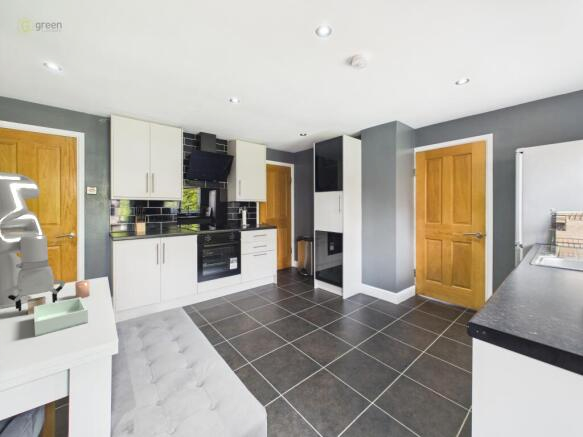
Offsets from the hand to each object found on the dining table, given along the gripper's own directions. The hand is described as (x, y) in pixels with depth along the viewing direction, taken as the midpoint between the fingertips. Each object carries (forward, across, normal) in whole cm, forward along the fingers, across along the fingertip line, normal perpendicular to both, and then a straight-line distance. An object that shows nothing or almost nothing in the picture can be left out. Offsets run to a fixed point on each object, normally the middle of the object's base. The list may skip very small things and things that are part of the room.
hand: (37, 306), depth 100 cm
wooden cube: (+2, 0, 0) cm, 2 cm away
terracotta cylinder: (+2, +15, +8) cm, 17 cm away
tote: (+2, +6, -18) cm, 19 cm away
